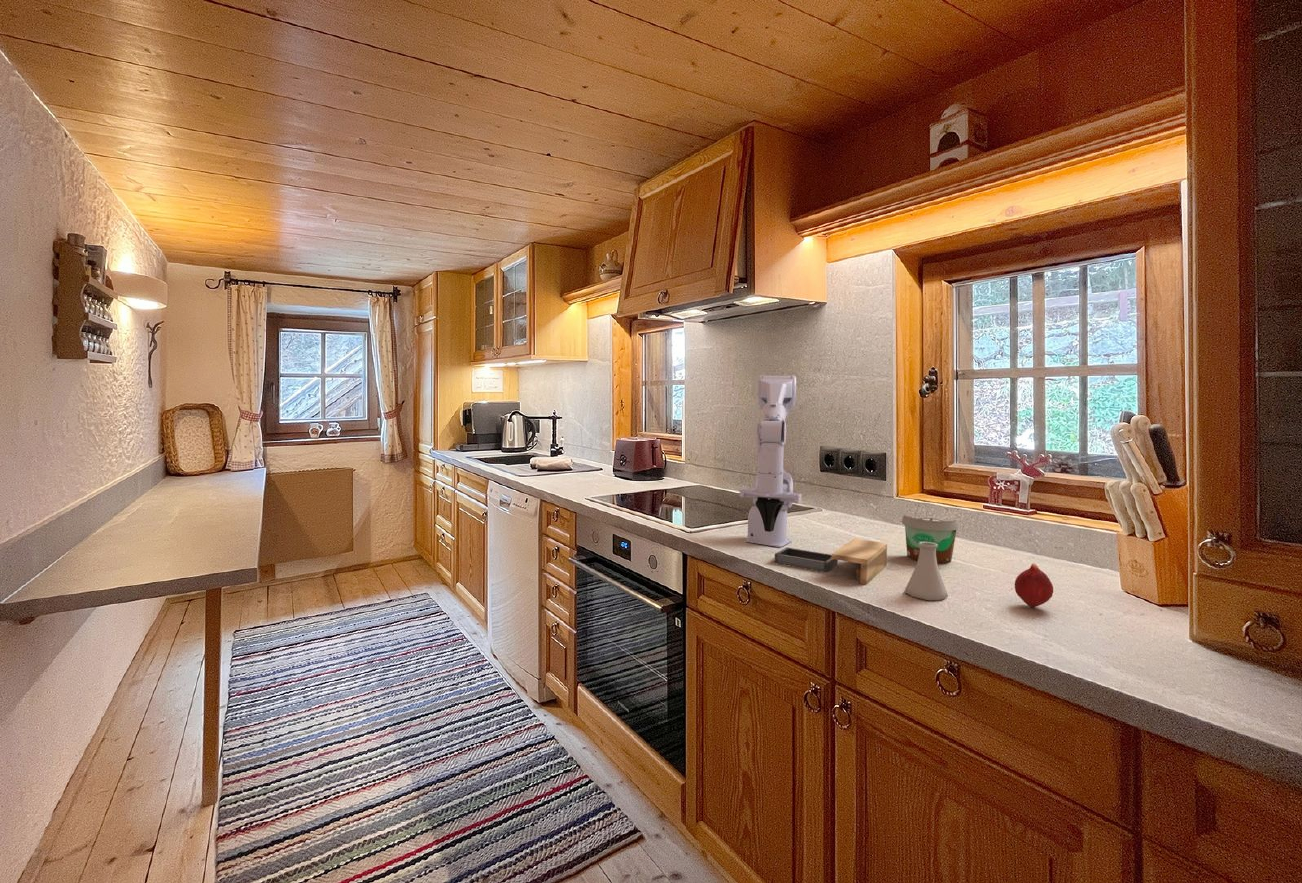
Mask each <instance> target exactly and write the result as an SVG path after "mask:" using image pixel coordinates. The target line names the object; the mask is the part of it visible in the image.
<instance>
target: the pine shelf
mask: <svg viewBox="0 0 1302 883" xmlns="http://www.w3.org/2000/svg"><path fill="white" fill-rule="evenodd" d="M887 554H888V543H886V542H879V541H872V540H866V539H858V538H854V539H851V540H850V541H849V542H847V543H845V544H844V545H842V546H841V547H839V548H838V549H837V550H836V551H834V552H832V553H831V559H836V560H838V561H843V562H849V563H855V564H860V566H859V567H857V568H856V579H857V578H858V579H857V580H860V583H859V584H861V585H868V583H870V582H871V581H872V580H873V579H874V578H875V577H876V576H877V575H879V573H880V572H882V571H883V570H884V569H885V568H886V567H887V562H888V561H887V560H888V559H887Z"/></svg>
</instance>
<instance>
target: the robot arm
mask: <svg viewBox="0 0 1302 883" xmlns="http://www.w3.org/2000/svg"><path fill="white" fill-rule="evenodd" d="M796 396H797V376H795V374H792V375H763V374H760V375H759V376H758V378H757V397H758V398H757V399H758V405H759V409H760V410H761V412H760V413H761V415H760V420H759V422H757V424H756V433H755V434H756V446H757V450H756V451H757V453H758V455H757V474H756V475H755V477H754V483H753V488H746V487H743V488H740V489H739V498H749V499H752V504H754V505H753V506H751V508H750V509H749V511H748V516H747V539H746V540H745V542H746V543H751V544H757V545H758V544H759V545H765V546H770V547H777V548H782V547H783V546H786V545H787V544H789V543H791V542H793V539H791V538H787V534H788V528H787V527H788V508H792V506H793V504H795V505H796V504H802V500H803V499H802V498H803V497H802V496H803V494H802V493H796V492H794V485H793V483H794V482H793V481H794V480H793V478H792V477H793V476H792V475H790V474H789V473H788V472H786V471H785V470H784V455H785V454H784V452H785V451H784V449H785V447H784V446H785V445H786V443H787V442H786V441H787V424H786V423H787V422H786V418H787V415H788V413H789V412H791V411H793V410H795V406H796Z"/></svg>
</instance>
